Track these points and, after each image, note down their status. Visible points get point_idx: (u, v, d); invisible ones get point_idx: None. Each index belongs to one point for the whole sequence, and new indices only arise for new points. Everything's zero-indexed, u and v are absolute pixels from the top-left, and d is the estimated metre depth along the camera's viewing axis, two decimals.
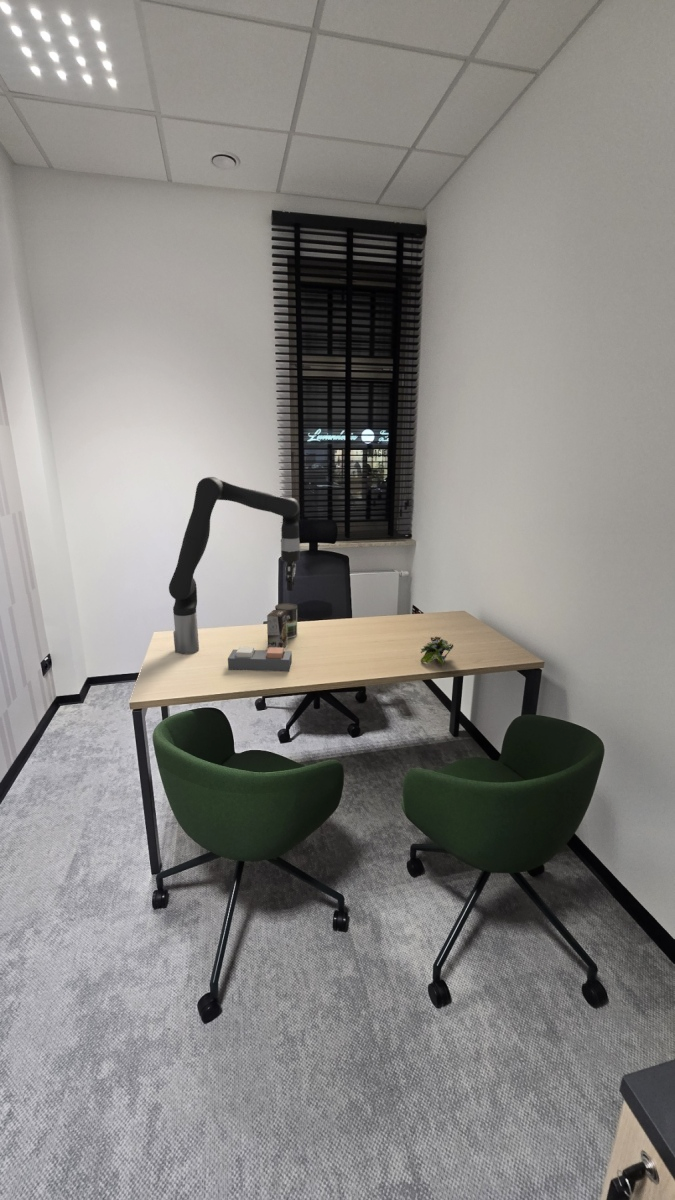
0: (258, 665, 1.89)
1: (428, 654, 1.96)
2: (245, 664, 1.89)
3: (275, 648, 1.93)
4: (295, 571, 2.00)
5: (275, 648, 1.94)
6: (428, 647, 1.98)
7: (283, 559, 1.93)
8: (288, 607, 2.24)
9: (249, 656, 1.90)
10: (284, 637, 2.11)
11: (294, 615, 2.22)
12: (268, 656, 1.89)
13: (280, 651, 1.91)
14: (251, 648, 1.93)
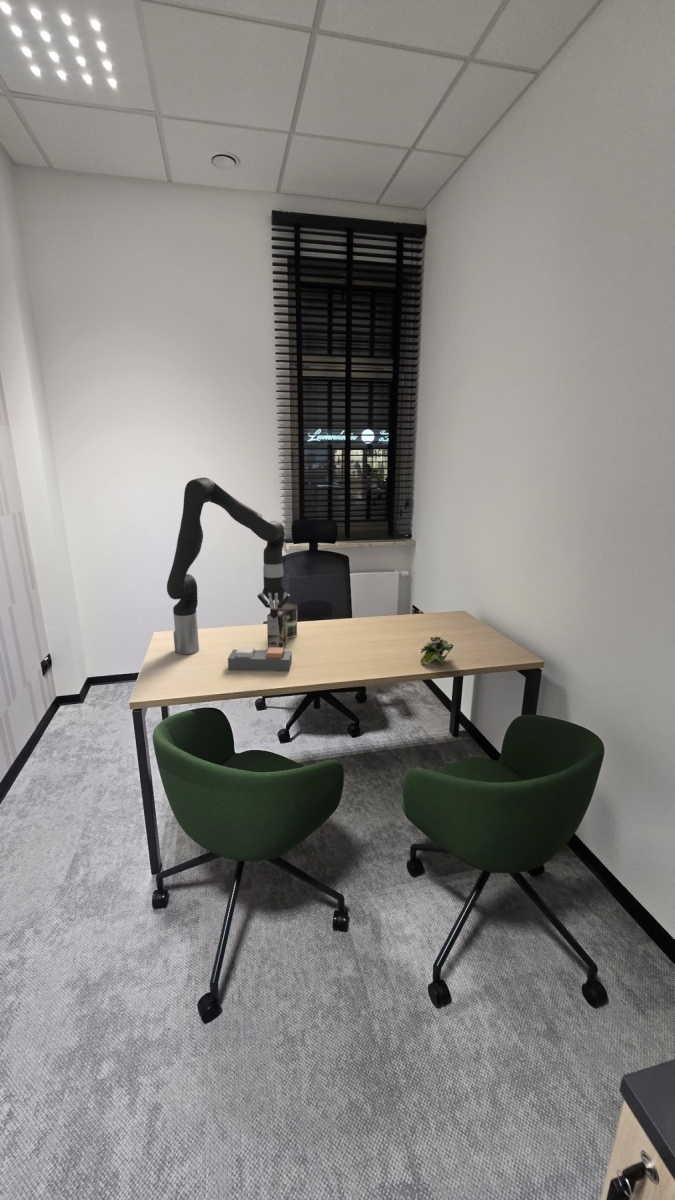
0: (258, 665, 1.89)
1: (428, 654, 1.96)
2: (245, 664, 1.89)
3: (275, 648, 1.93)
4: None
5: (275, 648, 1.94)
6: (428, 647, 1.98)
7: (279, 586, 1.81)
8: (288, 607, 2.24)
9: (249, 656, 1.90)
10: (284, 637, 2.11)
11: (294, 615, 2.22)
12: (268, 656, 1.89)
13: (280, 651, 1.91)
14: (251, 648, 1.93)
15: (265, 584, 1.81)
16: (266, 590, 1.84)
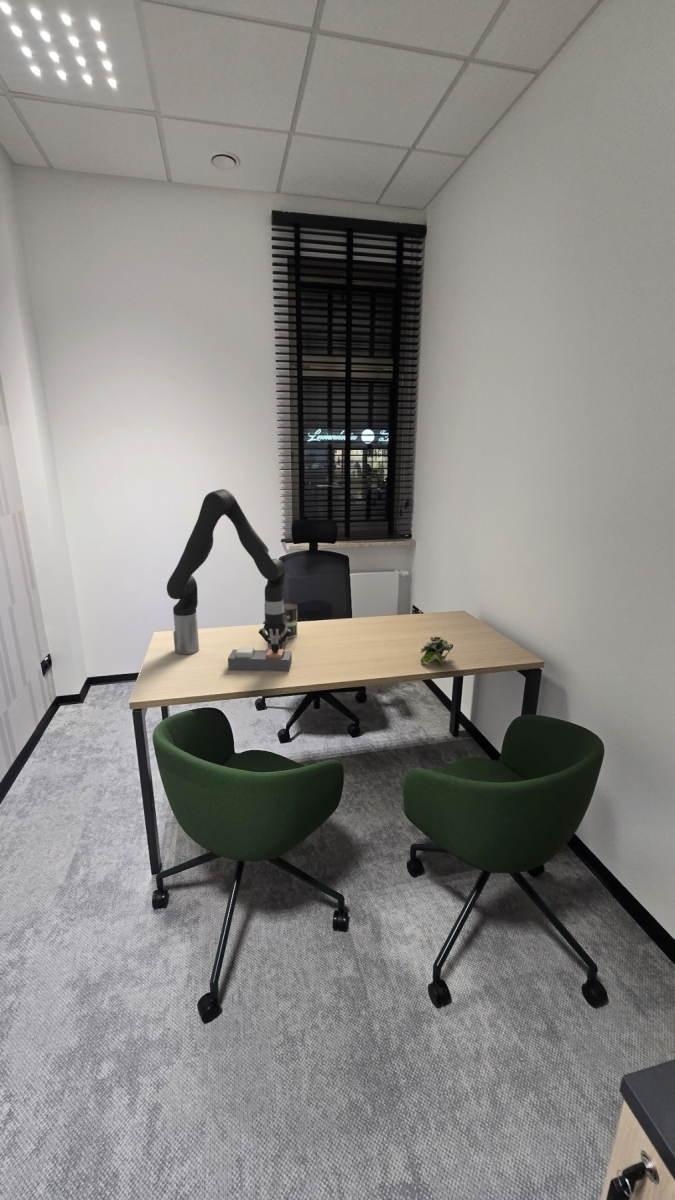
0: (258, 665, 1.89)
1: (428, 654, 1.96)
2: (245, 664, 1.89)
3: None
4: None
5: None
6: (428, 647, 1.98)
7: (280, 622, 1.86)
8: (288, 607, 2.24)
9: (249, 656, 1.90)
10: None
11: (294, 615, 2.22)
12: None
13: (280, 653, 1.91)
14: (251, 648, 1.93)
15: (266, 620, 1.85)
16: (267, 626, 1.88)
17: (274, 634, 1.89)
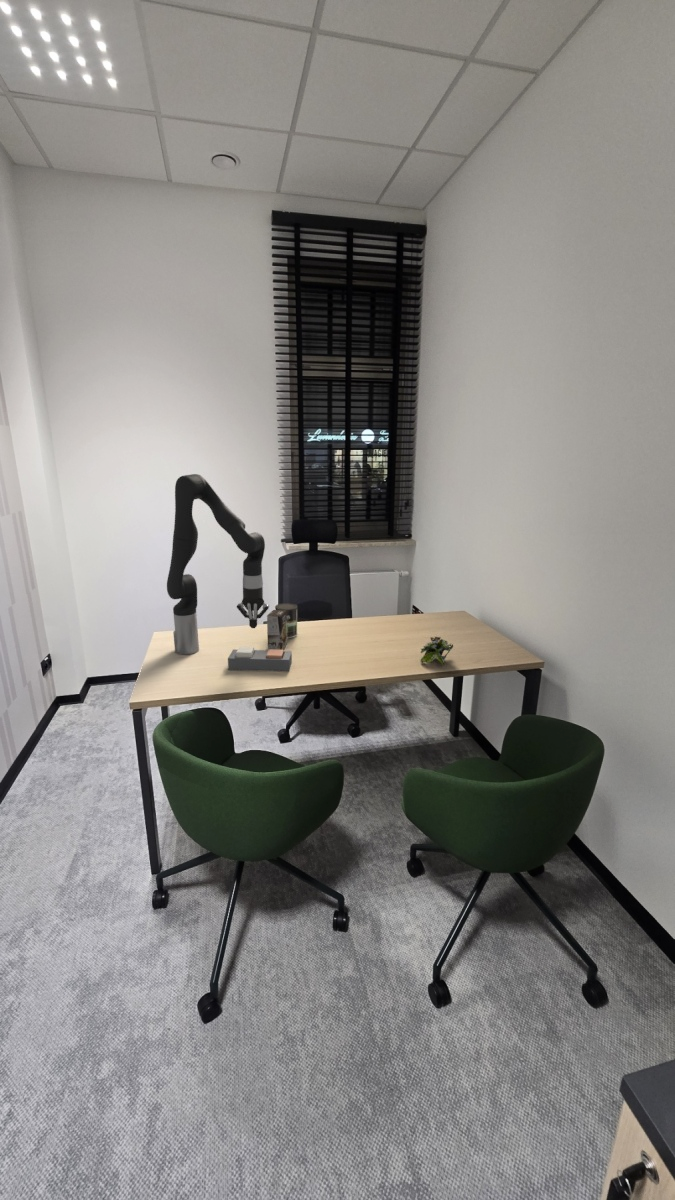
0: (258, 665, 1.89)
1: (428, 654, 1.96)
2: (245, 664, 1.89)
3: (275, 650, 1.94)
4: None
5: (275, 650, 1.94)
6: (428, 647, 1.98)
7: (258, 597, 1.83)
8: (288, 607, 2.24)
9: (249, 656, 1.90)
10: (284, 637, 2.11)
11: (294, 615, 2.22)
12: None
13: (280, 653, 1.91)
14: (251, 648, 1.93)
15: (244, 594, 1.83)
16: (245, 601, 1.85)
17: (252, 609, 1.87)
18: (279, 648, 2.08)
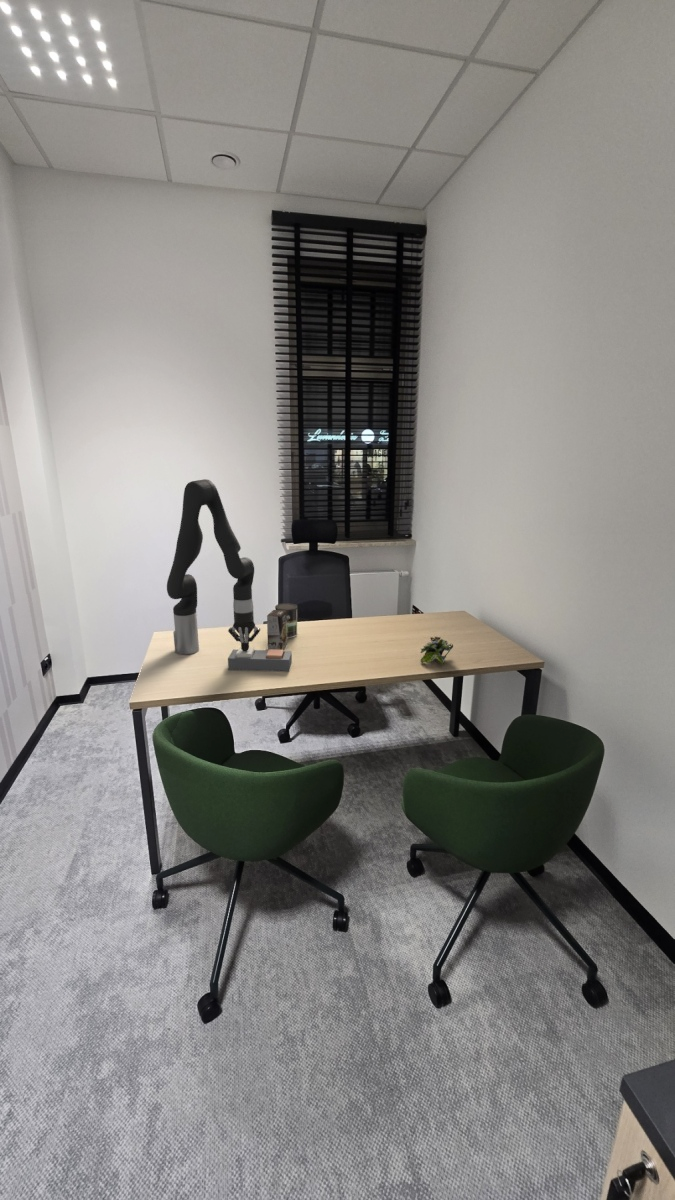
0: (258, 665, 1.89)
1: (428, 654, 1.96)
2: (245, 664, 1.89)
3: (275, 650, 1.94)
4: None
5: (275, 650, 1.94)
6: (428, 647, 1.98)
7: (249, 621, 1.86)
8: (288, 607, 2.24)
9: (249, 657, 1.90)
10: (284, 637, 2.11)
11: (294, 615, 2.22)
12: None
13: (280, 653, 1.91)
14: (251, 649, 1.93)
15: (235, 619, 1.86)
16: (236, 624, 1.88)
17: (243, 633, 1.89)
18: (279, 648, 2.08)
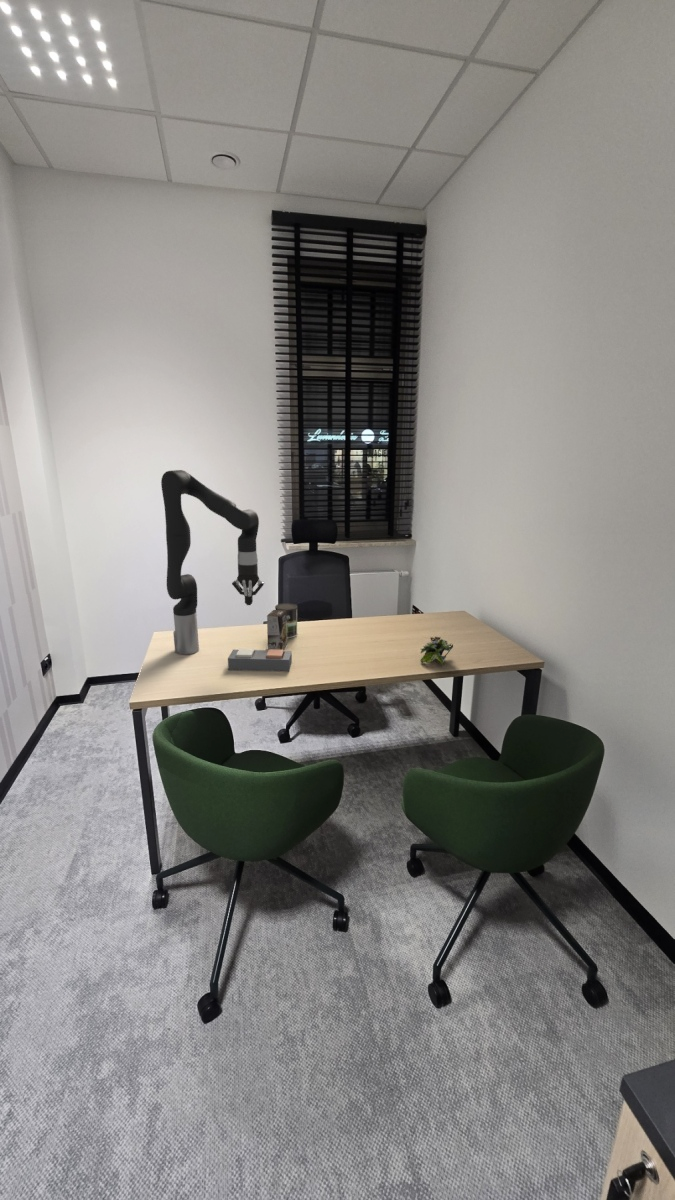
0: (258, 665, 1.89)
1: (428, 654, 1.96)
2: (245, 664, 1.89)
3: (275, 650, 1.94)
4: None
5: (275, 650, 1.94)
6: (428, 647, 1.98)
7: (253, 573, 1.85)
8: (288, 607, 2.24)
9: None
10: (284, 637, 2.11)
11: (294, 615, 2.22)
12: None
13: (280, 653, 1.91)
14: (251, 650, 1.93)
15: (239, 571, 1.85)
16: (240, 577, 1.88)
17: (247, 586, 1.89)
18: (279, 648, 2.08)
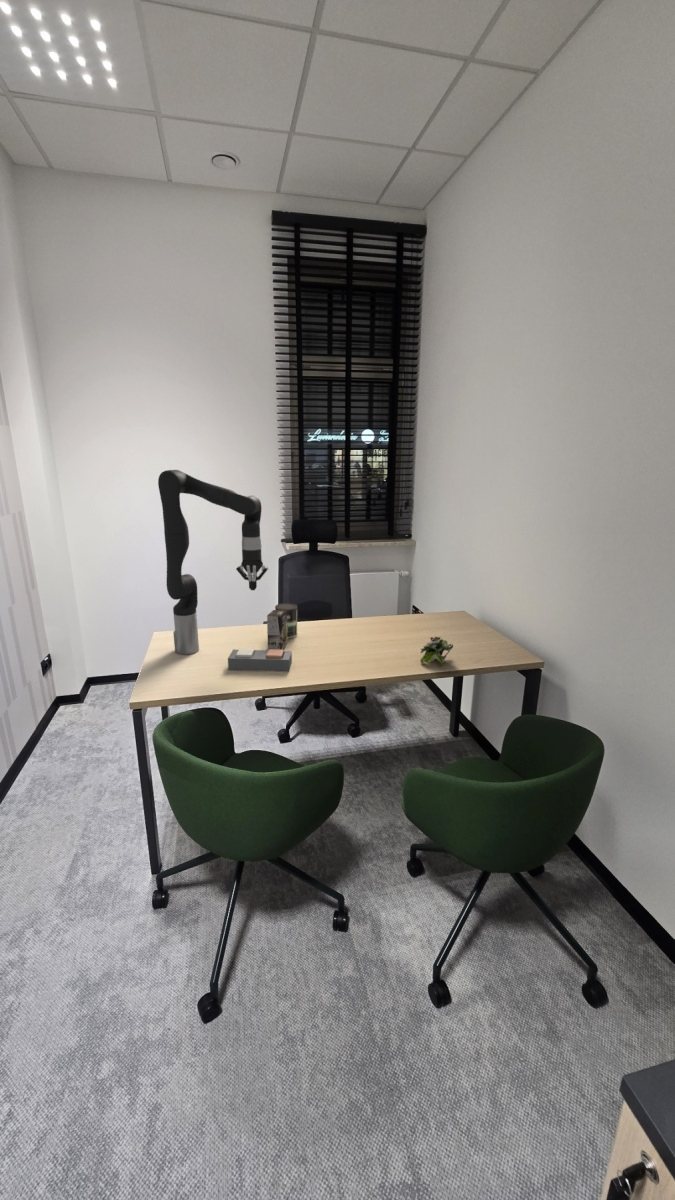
0: (258, 665, 1.89)
1: (428, 654, 1.96)
2: (245, 664, 1.89)
3: (275, 650, 1.94)
4: None
5: (275, 650, 1.94)
6: (428, 647, 1.98)
7: (257, 558, 1.89)
8: (288, 607, 2.24)
9: None
10: (284, 637, 2.11)
11: (294, 615, 2.22)
12: None
13: (280, 653, 1.91)
14: (251, 650, 1.93)
15: (243, 556, 1.89)
16: (244, 563, 1.91)
17: (251, 571, 1.92)
18: (279, 648, 2.08)
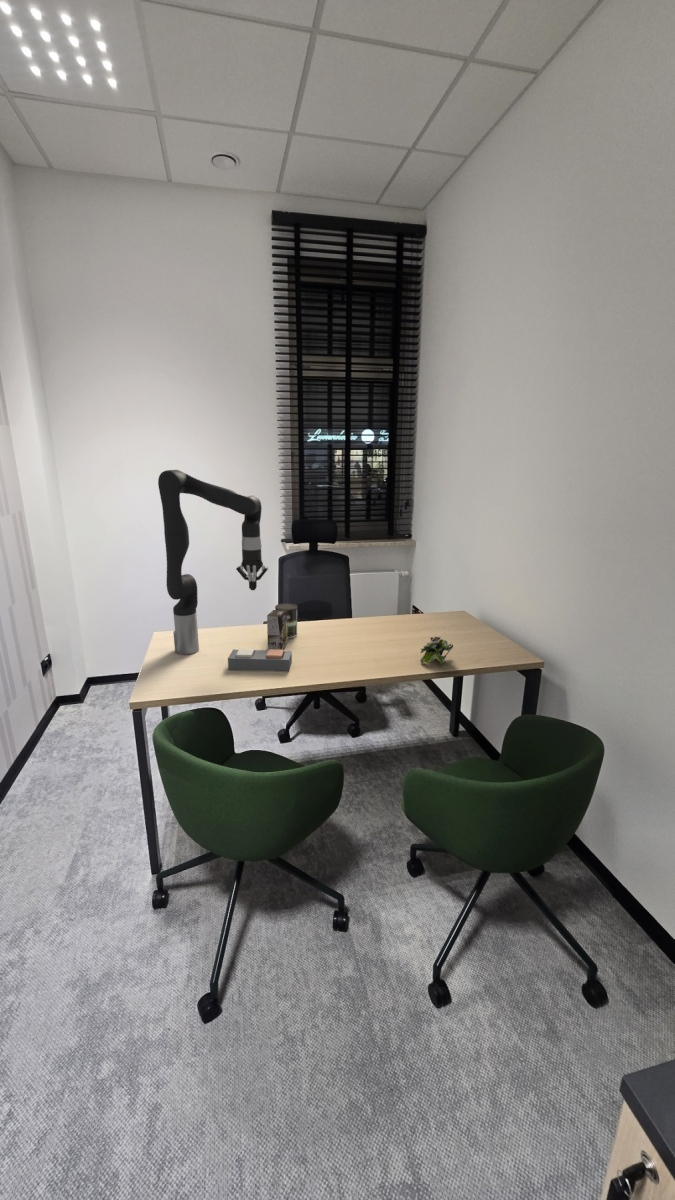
0: (258, 665, 1.89)
1: (428, 654, 1.96)
2: (245, 664, 1.89)
3: (275, 650, 1.94)
4: None
5: (275, 650, 1.94)
6: (428, 647, 1.98)
7: (257, 558, 1.89)
8: (288, 607, 2.24)
9: None
10: (284, 637, 2.11)
11: (294, 615, 2.22)
12: None
13: (280, 653, 1.91)
14: (251, 650, 1.93)
15: (243, 556, 1.89)
16: (244, 563, 1.91)
17: (251, 571, 1.92)
18: (279, 648, 2.08)
